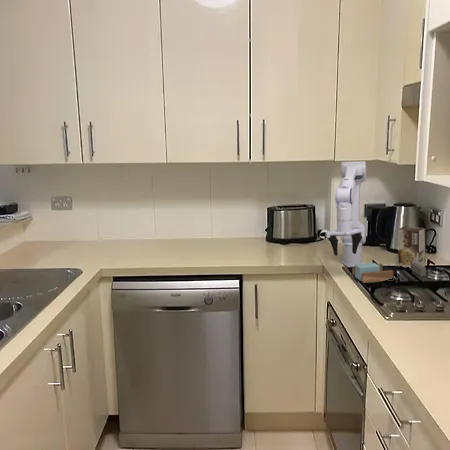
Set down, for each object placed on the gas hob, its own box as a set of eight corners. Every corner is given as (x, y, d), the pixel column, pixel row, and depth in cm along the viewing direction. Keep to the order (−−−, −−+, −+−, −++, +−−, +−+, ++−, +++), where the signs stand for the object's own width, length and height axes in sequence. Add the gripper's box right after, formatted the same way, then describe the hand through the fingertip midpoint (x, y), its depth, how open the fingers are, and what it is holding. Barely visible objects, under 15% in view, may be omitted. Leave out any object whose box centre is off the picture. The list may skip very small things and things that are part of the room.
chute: (352, 274, 190) (352, 266, 190) (380, 271, 192) (380, 263, 191) (363, 282, 180) (363, 274, 179) (393, 279, 181) (393, 271, 181)
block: (355, 276, 188) (355, 264, 187) (374, 274, 188) (374, 262, 187) (360, 280, 183) (360, 268, 182) (379, 278, 184) (380, 266, 183)
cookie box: (425, 266, 196) (426, 227, 193) (418, 269, 191) (419, 230, 188) (404, 262, 202) (404, 225, 199) (397, 266, 198) (397, 228, 195)
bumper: (410, 270, 192) (410, 263, 191) (415, 269, 192) (415, 262, 191) (421, 275, 184) (421, 268, 183) (425, 275, 184) (426, 268, 183)
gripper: (329, 223, 175) (330, 258, 178) (367, 219, 177) (367, 255, 179) (323, 219, 182) (324, 253, 185) (359, 216, 184) (359, 250, 186)
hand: (345, 254), depth 183 cm, fingers open, 7 cm apart
